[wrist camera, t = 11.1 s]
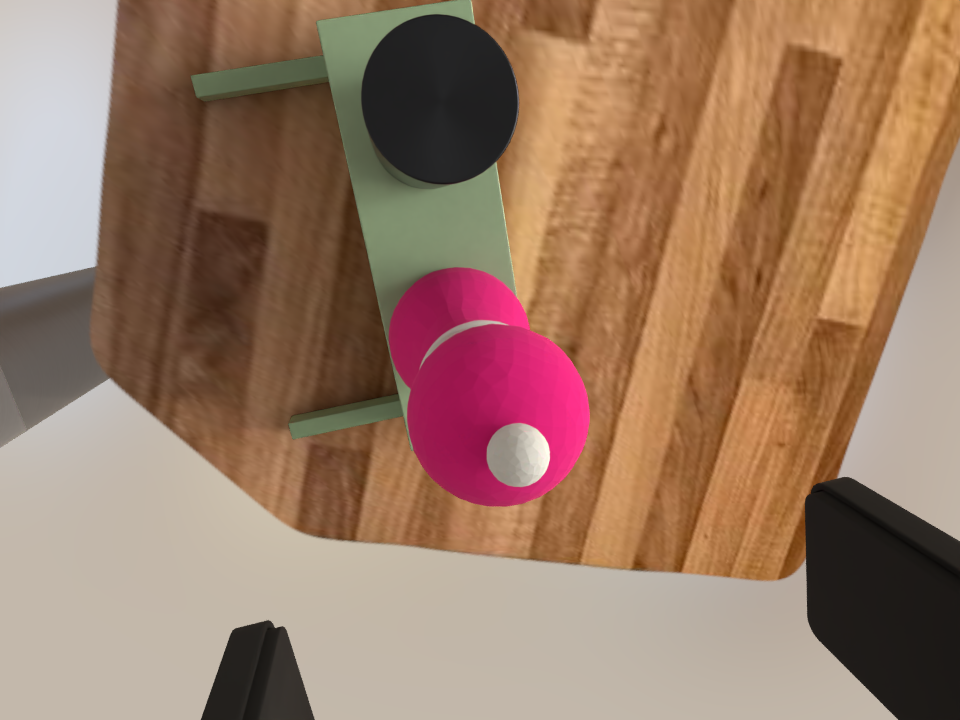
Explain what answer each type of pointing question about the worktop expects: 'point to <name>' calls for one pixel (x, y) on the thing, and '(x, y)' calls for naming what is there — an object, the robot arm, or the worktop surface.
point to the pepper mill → (485, 390)
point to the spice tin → (439, 101)
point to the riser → (384, 190)
